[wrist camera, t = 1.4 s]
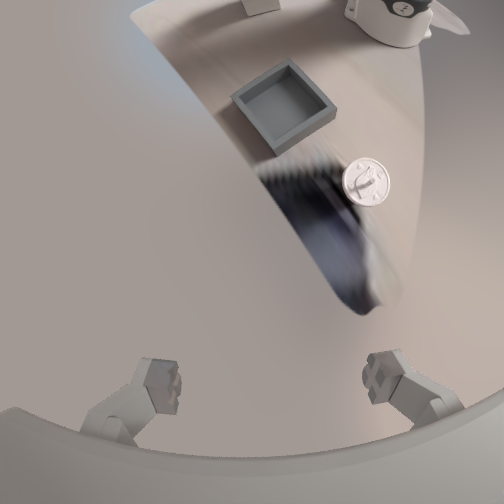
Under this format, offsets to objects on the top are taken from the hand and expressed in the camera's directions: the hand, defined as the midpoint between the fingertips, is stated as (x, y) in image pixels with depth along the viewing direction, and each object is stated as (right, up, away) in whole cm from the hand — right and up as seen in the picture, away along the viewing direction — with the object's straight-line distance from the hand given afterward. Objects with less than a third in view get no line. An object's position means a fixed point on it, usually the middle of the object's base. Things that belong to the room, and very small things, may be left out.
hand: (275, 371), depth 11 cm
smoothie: (+16, +15, +30) cm, 37 cm away
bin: (+5, +29, +31) cm, 43 cm away
